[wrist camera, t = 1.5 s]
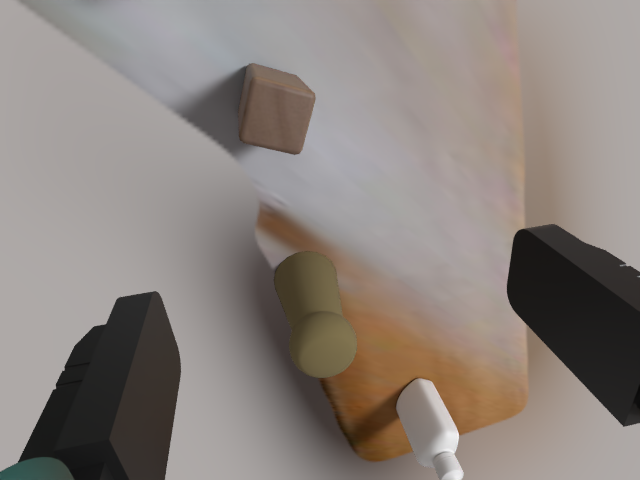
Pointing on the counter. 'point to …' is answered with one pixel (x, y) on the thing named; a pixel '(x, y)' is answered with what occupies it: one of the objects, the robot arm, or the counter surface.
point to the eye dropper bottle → (429, 428)
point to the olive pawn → (315, 315)
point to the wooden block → (274, 109)
